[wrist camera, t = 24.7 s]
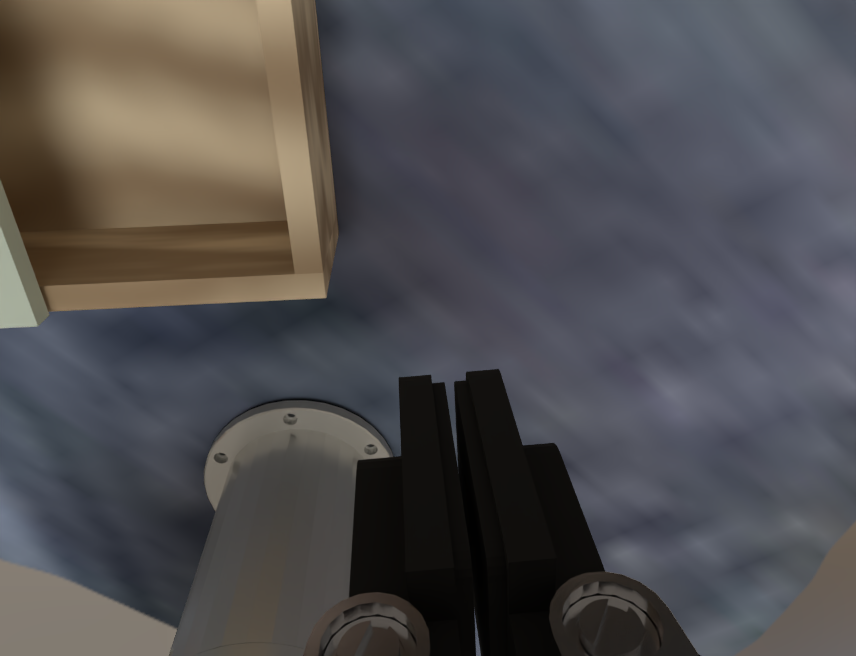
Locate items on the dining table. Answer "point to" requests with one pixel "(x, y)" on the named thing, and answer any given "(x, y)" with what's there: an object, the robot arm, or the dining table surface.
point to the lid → (17, 276)
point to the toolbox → (167, 150)
